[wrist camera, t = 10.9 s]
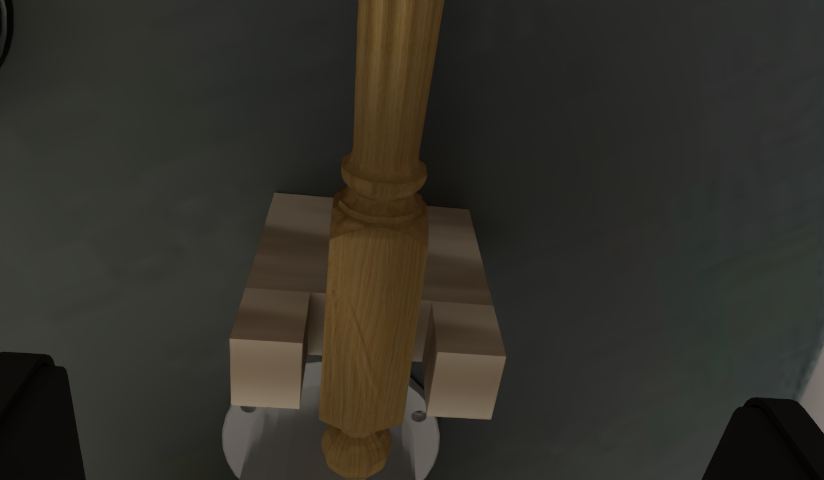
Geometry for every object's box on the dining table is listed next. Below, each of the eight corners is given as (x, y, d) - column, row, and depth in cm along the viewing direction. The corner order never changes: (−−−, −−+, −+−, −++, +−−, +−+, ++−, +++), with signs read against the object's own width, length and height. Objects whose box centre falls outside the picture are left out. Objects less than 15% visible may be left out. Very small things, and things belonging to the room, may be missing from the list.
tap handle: (560, -669, 11) (392, 497, 26) (525, -571, 14) (391, 439, 29) (383, -706, 11) (314, 495, 26) (382, -598, 14) (320, 435, 29)
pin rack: (459, 261, 34) (490, 419, 24) (273, 246, 33) (231, 405, 24) (550, -239, 24) (666, -301, 14) (282, -280, 23) (213, -376, 13)
